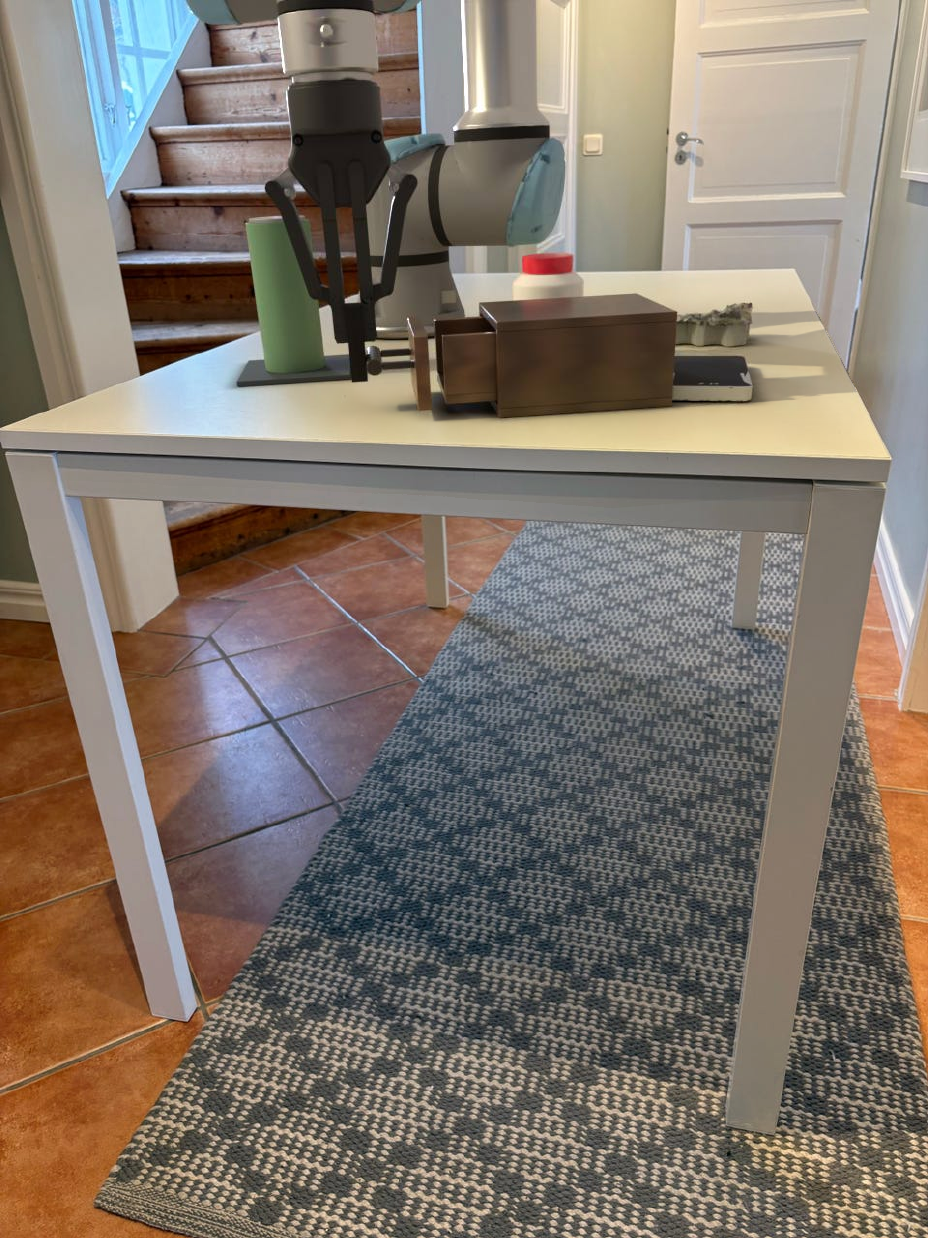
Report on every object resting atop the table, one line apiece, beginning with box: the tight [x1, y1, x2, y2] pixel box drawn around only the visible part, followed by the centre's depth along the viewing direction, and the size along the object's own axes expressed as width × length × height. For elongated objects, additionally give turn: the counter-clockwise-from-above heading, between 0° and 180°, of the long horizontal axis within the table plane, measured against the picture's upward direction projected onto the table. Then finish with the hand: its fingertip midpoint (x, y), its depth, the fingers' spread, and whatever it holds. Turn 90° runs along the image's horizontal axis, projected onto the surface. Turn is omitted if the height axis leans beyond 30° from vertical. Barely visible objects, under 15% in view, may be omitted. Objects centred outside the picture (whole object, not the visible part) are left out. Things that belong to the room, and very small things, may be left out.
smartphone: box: [672, 355, 754, 402], centre depth 87 cm, size 8×1×15 cm
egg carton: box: [675, 302, 754, 348], centre depth 106 cm, size 11×8×4 cm
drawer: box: [366, 315, 497, 412], centre depth 83 cm, size 19×11×6 cm, turn 96°
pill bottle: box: [511, 252, 585, 301], centre depth 98 cm, size 8×8×11 cm
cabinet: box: [478, 293, 678, 419], centre depth 83 cm, size 16×13×8 cm
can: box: [245, 214, 325, 373], centre depth 97 cm, size 7×7×15 cm
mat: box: [235, 353, 351, 387], centre depth 101 cm, size 12×12×1 cm
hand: (359, 378), depth 82 cm, fingers closed
